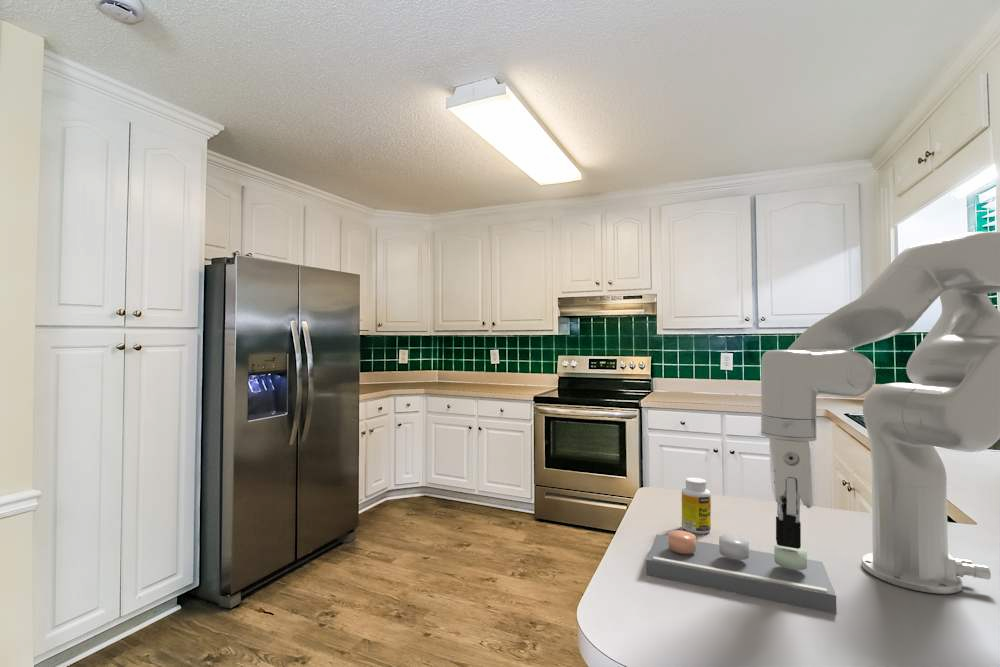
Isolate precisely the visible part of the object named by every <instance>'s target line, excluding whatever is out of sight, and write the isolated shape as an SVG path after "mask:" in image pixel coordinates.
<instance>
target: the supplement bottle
mask: <svg viewBox="0 0 1000 667" xmlns="http://www.w3.org/2000/svg"><path fill="white" fill-rule="evenodd" d="M711 496H712V495H711V491H710V490H709V489H708V485H707V480H706V479H704V478H700V477H687V478H685V486H684V487H682V489H681V527H682V529H683V531H686V532H689V533H692V534H696V535H697V534H698V535H705V534H708V533H710V532H711V527H712V526H711V525H712V523H711V522H712V519H711V517H712V516H711V515H712V514H711V513H712V512H711V511H712V510H711V508H712V507H711V506H712V502H711V501H712V500H711V498H712V497H711Z"/></svg>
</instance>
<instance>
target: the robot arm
mask: <svg viewBox="0 0 1000 667" xmlns="http://www.w3.org/2000/svg"><path fill="white" fill-rule="evenodd" d="M992 293H993V294H994V293H995V294H996V293H1000V231H974V232H965V233H960V234H956V235H951V236H946V237H942V238H936V239H932V240H927V241H922V242H919V243H916V244H912V245H910V246H908V247H907V248H905V249H904V250H902V252H900V253H899V254H898V255H897V256H896V257H895V258H894V259H893V260H892V262H890V263H889V265H888V266H886V268H885V269H884V270H883V271H882V272H881V273H880V274H879V275H878V277H877V278H876V279H874V280H873V282H872V283H871V284H870V285H869V287H867V288H866V290H865V291H863V293H862V294H861V295H860V296H859V297H858V298H856V299H855V300H854V301H851V302H849V303H847V304H845V305H844V306H842V307H840V308H839V309H836V310H835V311H833V312H832V313H831V314H829V315H827V316H825V317H823V318H821V319H820V320H818V321H817V322H815V323H814V324H812V325H811V326H809V327H808V328H807V329H805V330H804V331H803V332H802V333H801V334H800V335H799V336H797V338H796V339H795V341H793V342H792V343H791V345H790V346H789V347H788V348H787V349H771V350H770V349H769V350H767V351H765V352H764V353H763V354H762V356H761V362H760V363H761V364H760V365H761V367H760V368H761V369H760V370H761V372H760V373H761V375H760V376H761V378H760V379H761V380H760V382H761V383H760V384H761V388H760V389H761V390H760V391H761V393H760V394H761V395H760V398H761V399H760V400H761V403H760V405H761V406H760V407H761V409H760V411H761V414H760V415H761V416H760V417H761V418H760V420H761V422H760V426H761V427H760V428H761V429H760V430H761V431H760V435H761V436H762V437H763V436H764V437H765V438H769V473H770V476H769V477H770V483H771V484H770V486H771V491H772V494H773V495H772V496H773V498H774V501H775V502H776V505H777V506H776V509H777V510H776V512H777V516H775V541H776V544H778V545H779V546H784V547H790V548H796V549H799V548H802V547H801V544H802V543H801V542H802V541H801V539H802V538H801V535H802V533H801V532H802V530H801V526H802V525H801V521H800V518H801V517H800V516H801V514H800V513H801V509H800V508H801V502H802V504H803V506H805V507H806V508H807V509H811V508H812V507H813V486H812V484H813V483H812V482H813V481H812V480H813V479H812V460H811V448H810V446H811V445H810V442H815V441H817V396H819V395H820V396H821V395H822V396H827V397H835V398H842V399H843V398H853V397H858V396H862V395H863V394H865V393H867V392H868V391H869V390H870V389H871V388H872V387H873V385H874V384H875V382H876V376H877V374H876V369H875V365H874V364H873V362H872V361H871V360H870V359H869V358H868V357H867V356H865V355H864V354H862V353H860V352H857V351H854V350H853V349H855V348H858V347H860V346H863V345H867V344H871V343H875V342H878V341H881V340H882V341H883V340H885V339H888V338H891V337H894V336H897V335H900V334H902V333H904V332H906V331H908V330H910V329H911V328H912V327H913V326H914V325H915V324H916V323H917V321H919V319H920V318H921V317H922V316H923V314H925V312H926V311H927V310H928V309H929V308H930V307H931V306H932V304H934V302H935V301H937V299H938V298H939V299H940V304H941V312H940V315H939V318H938V319H937V321H936V323H935V324H934V325H933V327H931V329H930V330H929V331H928V333H927V334H926V335H925V336H924V337H923V339H922V340H921V341H920V342H919V344H918V345H917V347H916V348H915V349H914V350H913V352H912V354H911V355H910V357H909V358H908V361H907V364H906V368H905V369H906V370H905V371H906V375H907V377H908V379H909V380H910V381H911V382H890V383H884V384H879V385H877V386H875V387H874V388H872V389H871V390H870V391H869V392H868V393H867V394H866V396H865V398H864V399H863V403H862V414H863V415H862V416H863V417H862V418H863V421H864V425H865V430H866V431H867V437H868V443H869V448H870V460H871V462H870V463H871V464H870V465H871V466H870V467H871V476H870V477H871V478H870V479H871V481H870V482H871V520H872V521H871V524H872V552H869V553H866V554H864V555H862V557H861V566H862V567H863V569H865V571H866V572H867V573H869V574H870V575H872V576H873V577H876V578H877V579H880V580H881V581H883V582H887V583H889V584H892V585H895V586H898V587H901V588H905V589H907V590H913V591H918V592H923V593H929V594H939V595H950V594H955V593H959V592H961V591H962V590H963V580H962V578H964V576H968V577H969V576H970V577H972V578H977V579H983V580H988V581H990V580H991V577H992V576H991V574H992V573H991V570H990V568H989V567H988V566H987V565H982V564H981V565H980V564H975V563H972V560H971V559H965V558H954V557H953V556H952V554H950V553H949V540H948V535H949V534H948V495H947V494H948V492H947V490H948V489H947V485H948V484H947V483H948V482H947V481H948V478H947V471H946V468H945V465H944V463H943V460H942V458H941V456H940V454H939V453H938V451H937V450H936V447H937V448H941V449H946V450H951V451H952V450H953V451H958V452H964V453H978V452H982V451H985V450H988V449H989V448H990V447H992V446H993V445H995V444H996V443H997V442H998V440H1000V310H999V309H998V308H997V307H995V304H993V301H991V299H990V297H989V294H992Z"/></svg>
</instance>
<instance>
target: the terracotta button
mask: <svg viewBox="0 0 1000 667" xmlns="http://www.w3.org/2000/svg"><path fill="white" fill-rule="evenodd" d="M667 536H668V547H669V549H671V550H672V551H675V552H678V553H683V554H691V553H694V552H695V551H696V541H697V537H696V535H695V533H691V532H688V531H686V530H670V531H669V532H668V535H667Z"/></svg>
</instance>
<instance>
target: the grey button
mask: <svg viewBox="0 0 1000 667" xmlns="http://www.w3.org/2000/svg"><path fill="white" fill-rule="evenodd" d="M718 545H719V553H720V554H721V555H723V556H725V557H727V558H731V559H736V560H745V559H748V558H749V550H750V543H749V541H748V539H745V538H743V537H741V536H738V535H730V534H724V535H720V536H719V537H718Z"/></svg>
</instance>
